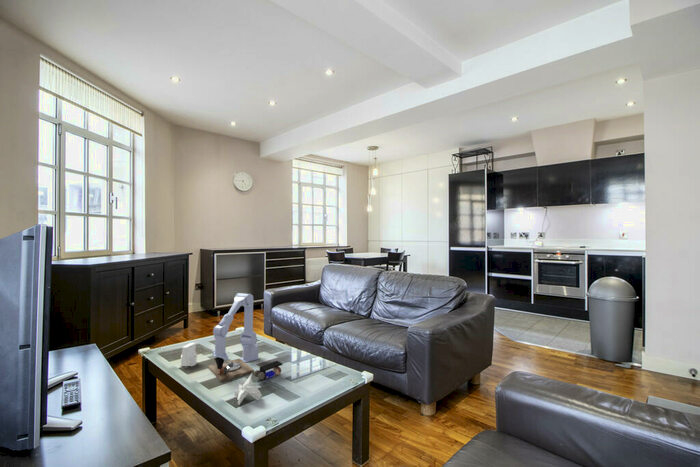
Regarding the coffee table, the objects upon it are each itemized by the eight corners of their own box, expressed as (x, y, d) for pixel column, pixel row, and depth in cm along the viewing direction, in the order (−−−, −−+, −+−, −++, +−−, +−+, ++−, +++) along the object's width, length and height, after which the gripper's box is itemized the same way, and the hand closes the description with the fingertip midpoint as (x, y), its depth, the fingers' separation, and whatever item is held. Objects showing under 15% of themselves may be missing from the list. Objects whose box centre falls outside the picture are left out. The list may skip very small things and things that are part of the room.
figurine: (239, 414, 159) (257, 411, 153) (223, 401, 155) (242, 398, 149) (252, 387, 170) (270, 383, 164) (238, 375, 166) (256, 370, 160)
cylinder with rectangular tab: (190, 367, 198) (190, 348, 198) (177, 366, 199) (177, 346, 200) (199, 362, 206) (200, 343, 207) (187, 361, 208) (187, 342, 208)
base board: (239, 360, 209) (239, 353, 209) (253, 372, 191) (253, 363, 191) (208, 368, 196) (208, 360, 197) (220, 381, 179) (220, 372, 179)
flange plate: (229, 363, 201) (229, 358, 201) (244, 365, 197) (244, 360, 197) (211, 372, 186) (211, 367, 186) (226, 375, 182) (226, 370, 182)
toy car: (260, 386, 176) (284, 375, 187) (258, 373, 175) (282, 362, 186) (254, 382, 181) (277, 371, 191) (252, 369, 180) (276, 359, 191)
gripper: (207, 345, 190) (207, 368, 189) (219, 350, 180) (219, 375, 180) (219, 342, 195) (218, 365, 195) (231, 347, 185) (231, 371, 185)
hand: (220, 369), depth 188 cm, fingers closed, pressing on flange plate
